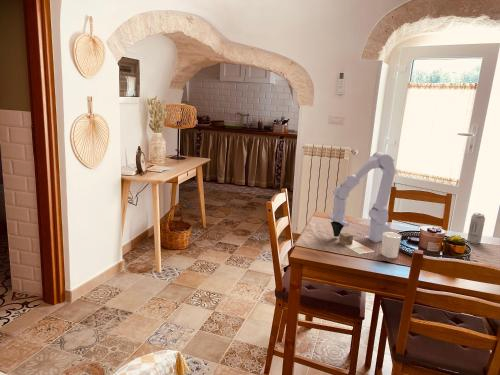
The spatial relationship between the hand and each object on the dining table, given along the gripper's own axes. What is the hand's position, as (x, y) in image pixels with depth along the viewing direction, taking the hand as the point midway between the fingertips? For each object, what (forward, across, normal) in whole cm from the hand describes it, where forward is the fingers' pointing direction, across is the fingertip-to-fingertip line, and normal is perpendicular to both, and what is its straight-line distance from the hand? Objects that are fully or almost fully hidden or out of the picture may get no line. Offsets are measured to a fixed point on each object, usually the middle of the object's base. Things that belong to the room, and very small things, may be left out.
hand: (336, 236), depth 191 cm
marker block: (+1, +8, 0) cm, 8 cm away
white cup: (+2, +26, +11) cm, 28 cm away
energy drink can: (+2, +25, +68) cm, 72 cm away
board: (+1, +12, +2) cm, 13 cm away
